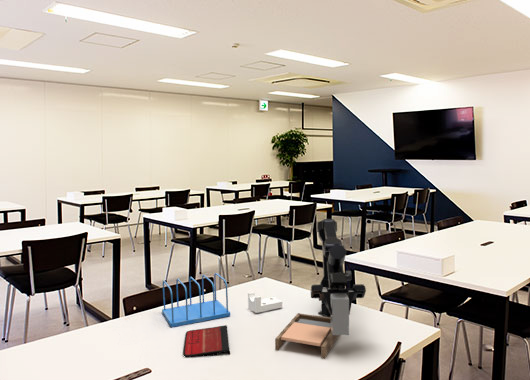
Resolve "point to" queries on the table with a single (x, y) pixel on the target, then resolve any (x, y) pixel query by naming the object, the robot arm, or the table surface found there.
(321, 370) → the table surface
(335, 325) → the stone block
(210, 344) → the binder
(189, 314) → the file sorter
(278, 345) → the flap frame
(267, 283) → the table surface
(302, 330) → the flap
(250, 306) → the bracket
